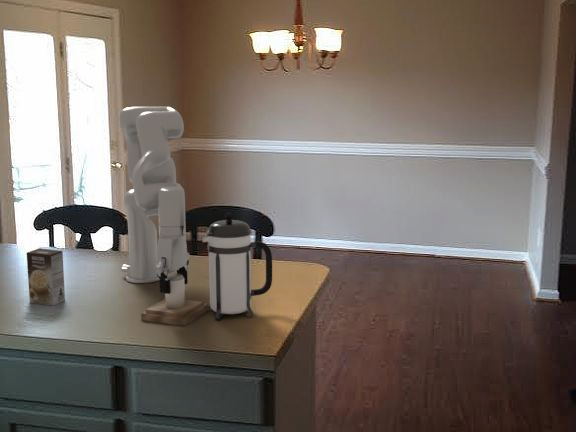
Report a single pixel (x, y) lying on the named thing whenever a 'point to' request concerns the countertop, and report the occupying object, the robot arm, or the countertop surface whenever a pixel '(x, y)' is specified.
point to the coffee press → (233, 267)
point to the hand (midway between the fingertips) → (174, 288)
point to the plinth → (175, 313)
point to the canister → (176, 292)
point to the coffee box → (45, 276)
